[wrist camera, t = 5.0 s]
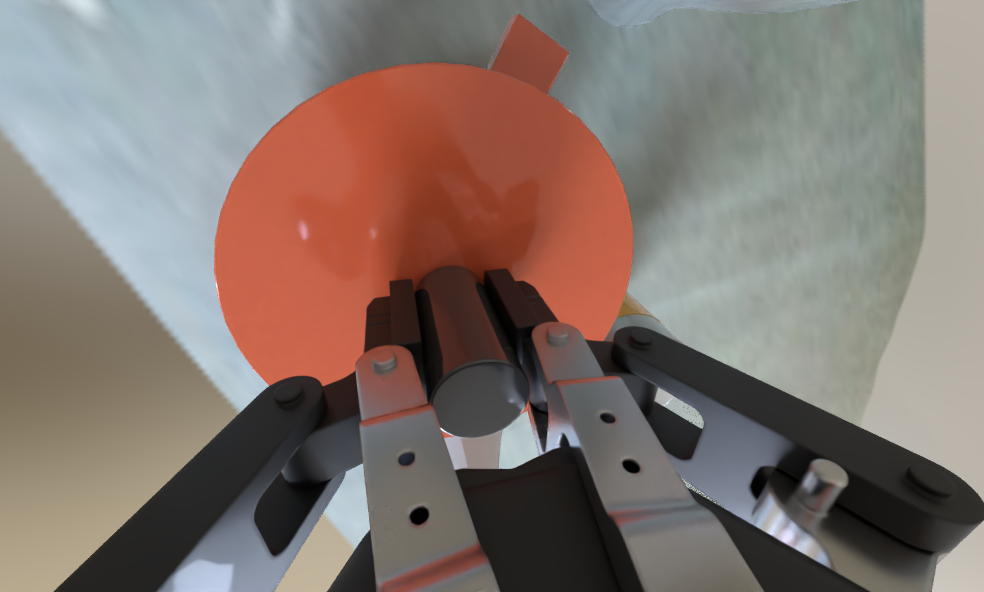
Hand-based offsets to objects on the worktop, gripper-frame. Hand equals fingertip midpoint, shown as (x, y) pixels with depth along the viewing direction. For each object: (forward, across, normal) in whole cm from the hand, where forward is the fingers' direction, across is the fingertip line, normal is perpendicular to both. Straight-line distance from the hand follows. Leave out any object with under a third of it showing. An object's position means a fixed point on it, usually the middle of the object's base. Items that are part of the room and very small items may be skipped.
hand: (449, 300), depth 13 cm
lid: (+1, 0, 0) cm, 1 cm away
